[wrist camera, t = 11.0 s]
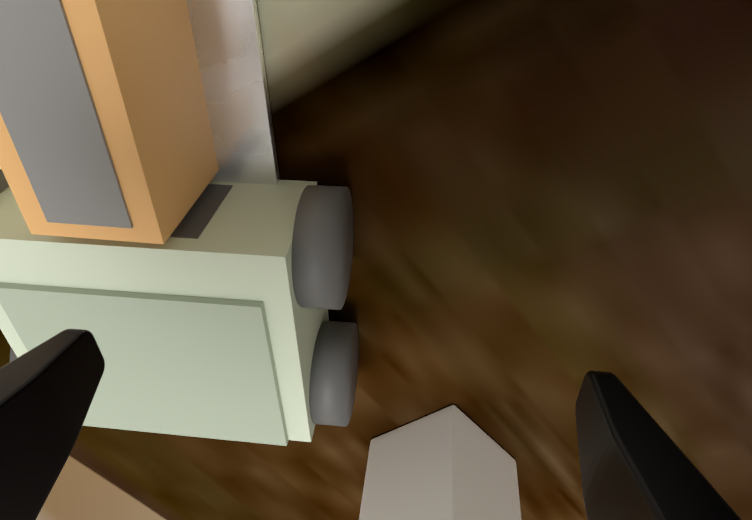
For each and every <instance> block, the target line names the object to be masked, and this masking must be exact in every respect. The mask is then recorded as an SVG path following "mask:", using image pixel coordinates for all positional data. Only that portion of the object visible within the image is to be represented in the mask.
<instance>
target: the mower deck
mask: <svg viewBox="0 0 752 520" xmlns="http://www.w3.org/2000/svg"><path fill="white" fill-rule="evenodd" d="M353 238H354V218H353V203H352V197H351V192H350V190H349V188H348V187H342V186H322V185H317V182H316V181H296V180H279V182H278V184H277V185H274V184H254V183H234V182H215V181H210V183H209V184H208V185H207V187H206V188H205V190H204V191H203V192H202V194H201V195H200V196H199V198H198V199H197V200H196V202H195V203H194V204H193V206H192V207H191V208H190V210H189V211H188V212H187V214H186V215H185V216H184V218H183V219H182V221H181V222H180V223H179V225H178V226H177V227H176V229H175V230H174V231H173V233H172V234H171V235H170V237H169V238H168V239H167V241H166V242H165V243H164V244H152V243H139V242H127V241H114V240H101V239H88V238H75V237H62V236H49V235H36V234H31V233H30V230H29V228H28V226H27V224H26V222H25V219H24V217H23V215H22V213H21V211H20V209H19V206H18V204H17V202H16V200H15V198H14V195H13V193H12V191H11V189H10V187H9V185H8V182H7V180H6V178H5V176H4V174H3V171H2V169H0V329H1V331H2V332H3V334H4V336H5V337H6V339H7V341H8V342H9V344H10V346H11V351H10V362H11V361H13V360H15V359H16V358H18V357H20V356H21V355H23V354H25V353H26V352H28V351H30V350H31V349H33V348H35V347H36V346H38V345H40V344H42V343H43V342H45V341H47V340H48V339H50V338H52V337H53V336H55V335H57V334H58V333H60V332H62V331H64V330H66V329H82V330H88V331H90V332H91V333H92V334H93V336H94V338H95V340H96V342H97V344H98V346H99V349H100V351H101V353H102V355H103V357H104V361H105V368H104V372H103V375H102V378H101V380H100V383H99V385H98V388H97V390H96V393H95V395H94V398H93V400H92V403H91V405H90V408H89V410H88V413H87V415H86V418H85V420H84V423H83V425H84V426H93V427H103V428H113V429H123V430H133V431H143V432H153V433H163V434H173V435H183V436H193V437H203V438H213V439H223V440H233V441H243V442H253V443H263V444H273V445H283V446H287V443H288V440H295V441H305V442H311V440H312V436H313V432H314V428H315V424H323V425H334V426H344V427H346V426H347V425H348V424H349V421H350V418H351V414H352V409H353V404H354V398H355V391H356V383H357V373H358V357H359V335H358V327H357V324H356V323H351V322H338V321H329V315H328V309H333V310H341V309H342V307H343V305H344V303H345V300H346V296H347V292H348V287H349V281H350V275H351V267H352V256H353Z"/></svg>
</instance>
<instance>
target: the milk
mask: <svg viewBox="0 0 752 520" xmlns="http://www.w3.org/2000/svg"><path fill="white" fill-rule="evenodd" d="M359 520H521V511H520V500H519V489H518V479H517V468H516V461H515V460H514V459H513V458H512V457H511V456H510V455H509V454H508V453H507V452H506V451H505V450H503V449H502V448H501V447H500V446H499V445H498V444H497V443H496V442H495V441H494V440H492V439H491V438H490V437H489V436H488V435H487V434H486V433H485V432H484V431H483V430H481V429H480V428H479V427H478V426H477V425H476V424H475V423H474V422H473V421H471V420H470V419H469V418H468V417H467V416H466V415H465V414H464V413H463V412H462V411H460V410H459V409H458V408H457V407H456V406H455V405H451V406H449V407H447V408H444V409H442V410H439V411H437V412H435V413H432V414H430V415H428V416H425V417H423V418H421V419H418V420H416V421H414V422H411V423H409V424H406V425H404V426H402V427H399V428H397V429H395V430H392V431H390V432H388V433H385V434H383V435H381V436H378V437H376V438H373V439H372V440H371V442H370V448H369V455H368V462H367V469H366V475H365V482H364V489H363V496H362V503H361V509H360V516H359Z"/></svg>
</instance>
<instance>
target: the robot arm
mask: <svg viewBox="0 0 752 520" xmlns="http://www.w3.org/2000/svg"><path fill="white" fill-rule="evenodd" d="M104 368H105V361H104V357H103V355H102V353H101V351H100V349H99V346H98V344H97V342H96V340H95V338H94V336H93V334H92V333H91V332H90V331H88V330H82V329H66V330H64V331H62V332H60V333H58V334H57V335H55V336H53V337H52V338H50V339H48V340H47V341H45V342H43V343H42V344H40V345H38V346H36V347H35V348H33V349H31V350H30V351H28V352H26V353H25V354H23V355H21V356H20V357H18V358H16V359H15V360H13V361H11V362H10V363H8V364H6V365H5V366H3V367H1V368H0V520H36V518H37V516H38V514H39V512H40V510H41V508H42V507H43V505H44V503H45V501H46V499H47V497H48V495H49V493H50V491H51V489H52V487H53V485H54V484H55V482H56V480H57V478H58V476H59V474H60V472H61V470H62V468H63V466H64V464H65V462H66V461H67V459H68V457H69V455H70V453H71V451H72V449H73V447H74V444H75V442H76V440H77V438H78V435H79V433H80V430H81V428H82V425H83V423H84V420H85V418H86V415H87V413H88V410H89V408H90V405H91V403H92V400H93V398H94V395H95V393H96V390H97V388H98V385H99V383H100V380H101V378H102V375H103V372H104ZM576 424H577V434H578V445H579V456H580V467H581V478H582V488H583V497H584V503H585V508H586V514H587V519H588V520H741V519H740V517H739V516H738V515H737V514H736V513H735V512H734V511H733V509H732V508H731V507H730V506H729V505H728V504H727V503H726V501H725V500H724V499H723V498H722V497H721V496H720V495H719V493H718V492H717V491H716V490H715V489H714V488H713V487H712V485H711V484H710V483H709V482H708V481H707V480H706V479H705V477H704V476H703V475H702V474H701V473H700V472H699V471H698V469H697V468H696V467H695V466H694V465H693V464H692V463H691V461H690V460H689V459H688V458H687V457H686V456H685V454H684V453H683V452H682V451H681V450H680V449H679V448H678V446H677V445H676V444H675V443H674V442H673V441H672V440H671V438H670V437H669V436H668V435H667V434H666V433H665V432H664V430H663V429H662V428H661V427H660V426H659V425H658V424H657V422H656V421H655V420H654V419H653V418H652V417H651V416H650V414H649V413H648V412H647V411H646V410H645V409H644V408H643V406H642V405H641V404H640V403H639V402H638V401H637V400H636V398H635V397H634V396H633V395H632V394H631V393H630V392H629V390H628V389H627V388H626V387H625V386H624V385H623V383H622V382H621V381H620V380H619V379H618V378H617V377H616V376H615V375H614V374H613V373H610V372H601V371H589V372H587V373H586V375H585V377H584V380H583V383H582V386H581V389H580V392H579V395H578V398H577V401H576Z"/></svg>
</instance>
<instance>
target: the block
mask: <svg viewBox="0 0 752 520" xmlns="http://www.w3.org/2000/svg"><path fill="white" fill-rule="evenodd" d="M0 167H1V169H2V171H3V174H4V176H5V178H6V180H7V182H8V185H9V187H10V189H11V191H12V193H13V195H14V198H15V200H16V202H17V204H18V206H19V209H20V211H21V213H22V215H23V217H24V219H25V222H26V224H27V226H28V228H29V230H30V233H31V234H36V235H49V236H62V237H75V238H88V239H101V240H114V241H127V242H139V243H152V244H164V243H165V242H166V241H167V239H168V238H169V237H170V235H171V234H172V233H173V231H174V230H175V229H176V227H177V226H178V225H179V223H180V222H181V221H182V219H183V218H184V216H185V215H186V214H187V212H188V211H189V210H190V208H191V207H192V206H193V204H194V203H195V202H196V200H197V199H198V198H199V196H200V195H201V194H202V192H203V191H204V190H205V188H206V187H207V185H208V184H209V183H210V181H211V180H212V179H213V177H214V176H215V175H216V173H217V172H218V171H219V169H218V164H217V159H216V153H215V148H214V143H213V138H212V132H211V127H210V122H209V116H208V111H207V106H206V101H205V95H204V90H203V85H202V79H201V74H200V69H199V63H198V58H197V53H196V48H195V42H194V37H193V32H192V26H191V21H190V16H189V11H188V5H187V0H0Z"/></svg>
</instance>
